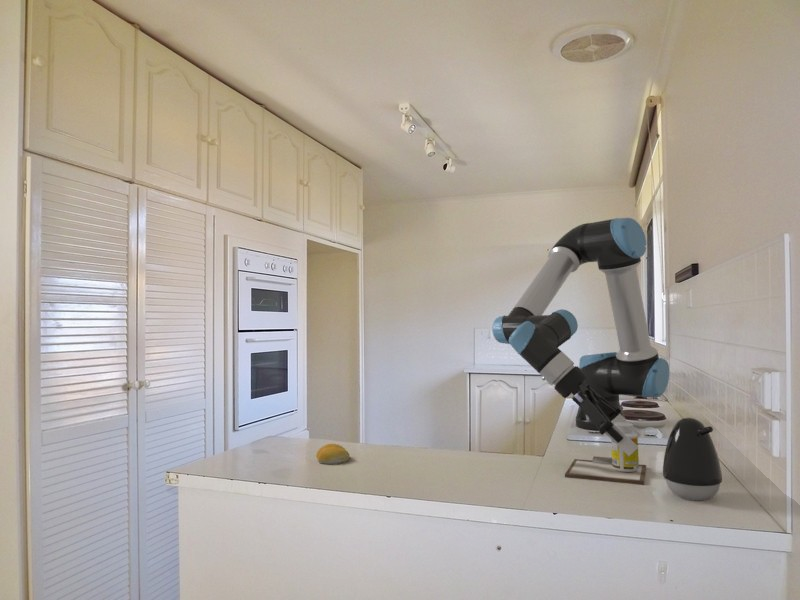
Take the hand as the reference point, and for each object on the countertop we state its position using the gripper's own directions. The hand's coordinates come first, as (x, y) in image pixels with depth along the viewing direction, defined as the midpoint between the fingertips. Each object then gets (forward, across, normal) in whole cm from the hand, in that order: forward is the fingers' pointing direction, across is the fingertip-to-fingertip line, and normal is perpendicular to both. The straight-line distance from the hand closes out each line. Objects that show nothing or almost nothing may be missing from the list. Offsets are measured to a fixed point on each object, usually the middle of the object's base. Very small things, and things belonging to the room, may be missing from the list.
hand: (635, 444), depth 126 cm
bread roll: (-46, +13, -55) cm, 73 cm away
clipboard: (0, +1, -9) cm, 9 cm away
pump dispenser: (+12, +13, +3) cm, 18 cm away
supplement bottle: (+2, 0, -6) cm, 6 cm away
